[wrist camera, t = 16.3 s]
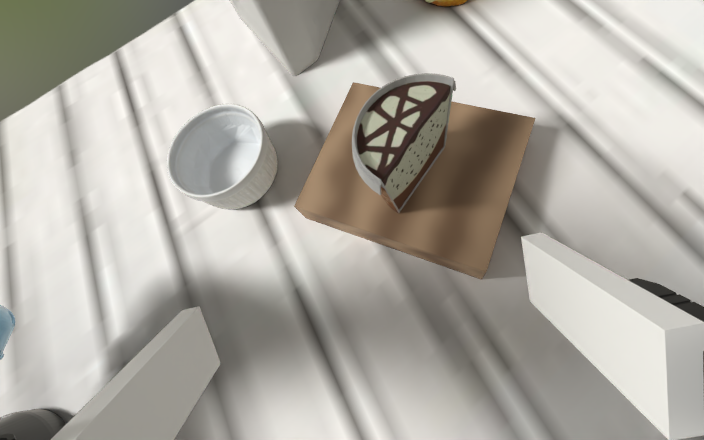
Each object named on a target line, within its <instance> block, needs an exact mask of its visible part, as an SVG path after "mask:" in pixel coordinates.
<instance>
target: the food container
mask: <svg viewBox="0 0 704 440" xmlns="http://www.w3.org/2000/svg"><path fill="white" fill-rule="evenodd" d="M453 90H454V91H455V90H456V84H455V81H454V78H452V77H449V76H445V75H440V74H428V73H424V74H414V75H410V76H405V77H402V78H399V79H396V80H394V81H392V82H390V83H388V84H386V85H385V86H383V87H382V88H380V89H379V90H377V91H376V92H375V93H374V94H373V95H372V96H371V97H370V98H369V99H368V100H367V101H366V102H365V104H364V105H363V107H362V109H361V110H360V112H359V114H358V116H357V119H356V121H355V125H354V128H353V133H352V153H353V160H354V163H355V167H356V169H357V171H358V173H359V175H360V176H361V178H362V179H363V181H364V182H365V183H366V184H367V185H368V186H369V187H370V188H371V189H372V190H373V191H375V192H376V193H378V194H379V195H381V196H382V197H383V199H384V200H385V202H386V203H387V204H388V205H389V206H390V207H391V208H392V209H393V210H394V211H396V212H397V213H400V211H401V210H402V208H403V207H404V205H405V204H406V202H407V201H408V200H409V198H410V197H411V195H412V194H413V192H414V191H415V190H416V188H417V187H418V185H419V184H420V182H421V181H422V180H423V178H424V177H425V175H426V174H427V172H428V171H429V170H430V168H431V167H432V165H433V164H434V162H435V161H436V160H437V158H438V157H439V155H440V154H441V152H442V151H443V150H444V148H445V146H446V138H447V130H448V123H449V115H450V107H451V100H452V92H453Z"/></svg>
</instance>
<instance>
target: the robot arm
mask: <svg viewBox="0 0 704 440" xmlns="http://www.w3.org/2000/svg"><path fill="white" fill-rule="evenodd" d="M521 240H522V247H523V254H524V262H525V269H526V276H527V283H528V291H529V298H530V302H531V303H532V304H533V305H534V306H535V307H536V308H537V309H538V310H539V311H540V312H541V313H542V314H543V315H544V316H545V317H546V318H547V319H548V320H549V321H550V322H551V323H552V324H553V325H554V326H555V327H556V328H557V329H558V330H559V331H560V332H561V333H562V334H563V335H564V336H565V337H566V338H567V339H568V340H569V341H570V342H571V343H572V344H573V345H574V346H575V347H576V348H577V349H578V350H579V351H580V352H581V353H582V354H583V355H584V356H585V357H586V358H587V359H588V360H589V361H590V362H591V363H592V364H593V365H594V366H595V367H596V368H597V369H598V370H599V371H600V372H601V373H602V374H603V375H604V376H605V377H606V378H607V379H608V380H609V381H610V382H611V383H612V384H613V385H614V386H615V387H616V388H617V389H618V390H619V391H620V392H621V393H622V394H623V395H624V396H625V397H626V398H627V399H628V400H629V401H630V402H631V403H632V404H633V405H634V406H635V407H636V408H637V409H638V410H639V411H640V412H641V413H642V414H643V415H644V416H645V417H646V418H647V419H648V420H649V421H650V422H651V423H652V424H653V425H654V426H655V427H656V428H657V429H658V430H659V431H660V432H661V433H662V434H663V435H664V436H665V437H666V438H667V439H668V440H678V439H684V438H690V437H697V436H703V435H704V307H703V306H701V305H699V304H697V303H695V302H691V301H690V300H689V299H687V298H685V297H683V296H681V295H677V294H676V293H675V292H673V291H671V290H669V289H667V288H666V287H664V286H662V285H660V284H657V283H653V282H649V281H645V280H642V279H638V278H636V279H631V280H627V279H625V278H623V277H621V276H620V275H618V274H616V273H614V272H612V271H610V270H609V269H607V268H605V267H603V266H601V265H600V264H598V263H596V262H594V261H592V260H591V259H589V258H587V257H585V256H583V255H582V254H580V253H578V252H576V251H574V250H572V249H571V248H569V247H567V246H565V245H563V244H562V243H560V242H558V241H556V240H554V239H553V238H551V237H549V236H547V235H545V234H544V233H542V232H541V233H536V234H531V235H527V236H522V237H521ZM14 326H15V318H14V315H13V314H12V312H11V311H10V310H8V309H7V308H5V307H4V306H2V305H0V360H1V359H2V358H3V356H4V354H3V350H4V348H5V346H6V344H7V342H8V340H9V337H10V335H11V333H12V331H13V329H14ZM220 364H221V363H220V360H219V357H218V354H217V352H216V349H215V346H214V344H213V341H212V338H211V336H210V333H209V330H208V328H207V325H206V322H205V320H204V317H203V314H202V311H201V309H200V306H198V307H194V308H189V309H185V310H182V311H181V312H180V313H179V314H178V315H177V316H176V317H175V318H174V319H173V320H172V321H171V322H170V323H169V324H168V325H166V326H165V327H164V328H163V329H162V330H161V331H160V332H159V333H158V334H157V335H156V336H155V337H154V338H153V339H152V340H151V341H150V342H149V343H148V344H147V345H146V346H145V347H144V348H143V349H142V350H141V351H140V352H139V353H138V354H137V355H136V356H135V357H134V358H133V359H132V360H131V361H130V362H129V363H128V364H127V365H126V366H125V367H124V368H123V369H122V370H121V371H120V372H119V373H118V374H117V375H116V376H115V377H114V378H113V379H112V380H111V381H110V382H109V383H108V384H107V385H106V386H105V387H104V388H102V389H101V390H100V391H99V392H98V393H97V394H96V395H95V396H94V397H93V398H92V399H91V400H90V401H89V402H88V403H87V404H86V405H85V406H84V407H83V408H82V409H81V410H80V411H79V412H78V413H77V414H76V415H75V416H74V417H73V418H72V419H71V420H70V421H69V422H68V423H67V424H66V423H65V422H64V421H63V420H62V418H60V417H59V416H58V415H57V414H55V413H53V412H51V411H48V410H43V409H34V410H27V411H21V412H15V413H11V414H8V415H5V416H3V417H0V440H174V439H175V437H176V436H177V434H178V432H179V431H180V429H181V428H182V426H183V424H184V423H185V421H186V419H187V418H188V416H189V415H190V413H191V411H192V410H193V408H194V406H195V405H196V403H197V401H198V400H199V398H200V397H201V395H202V393H203V392H204V390H205V388H206V387H207V385H208V384H209V382H210V380H211V379H212V377H213V375H214V374H215V372H216V370H217V369H218V367H219V366H220Z"/></svg>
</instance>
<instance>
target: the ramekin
mask: <svg viewBox="0 0 704 440" xmlns="http://www.w3.org/2000/svg"><path fill="white" fill-rule="evenodd" d="M277 162H278V160H277V155H276V152H275V149H274V147H273V145H272V143H271V141H270V139H269V137H268V135H267V134H266V131H265V128H264V126H263V124H262V123H261V121H260V120H259V119H258V117H257V116H256V115H255V114H254V113H253V112H252V111H250V110H249V109H247V108H245V107H243V106H240V105H236V104H220V105H216V106H212V107H210V108H207V109H205V110H203V111H201V112H199V113H198V114H196V115H195V116H193V117H192V118H191V119H189V120H188V121H187V122H186V123H185V124H184V125H183V126H182V127H181V129H180V130H179V131H178V133H177V134H176V136H175V137H174V139H173V141H172V143H171V145H170V148H169V151H168V156H167V171H168V175H169V178H170V180H171V182H172V183H173V185H174V186H175V187H176V188H177V189H178V190H179V191H181V192H182V193H183V194H185V195H186V196H188V197H190V198H192V199H195V200H198V201H203V202H205V203H207V204H210V205H212V206H215V207H218V208H222V209H228V210H230V209H240V208H243V207H246V206H248V205H251V204H252V203H254V202H256V201H257V200H258V199H260V198H261V197H262V196H263V195H264V194H265V193H266V192H267V191H268V189H269V188H270V187H271V185H272V183H273V181H274V178H275V176H276V172H277V167H278V165H277Z"/></svg>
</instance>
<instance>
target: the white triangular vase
mask: <svg viewBox="0 0 704 440" xmlns="http://www.w3.org/2000/svg"><path fill="white" fill-rule="evenodd" d="M339 1H340V0H230V2H231V4H232V5H233V7H234V9H235V11H236V12H237V14H238V16H239V17H240V19H241V20H242V21H243V22H244V23H245V24H246V25H247V27H248V28H249V29H250V30H251V31H252V32H253V33H254V34H255V35H256V37H257V38H258V39H259V40H260V41H261V42H262V43H263V44H264V45H265V47H266V48H267V49H268V50H269V51H270V52H271V53H272V54H273V55H274V57H275V58H276V59H277V60H278V61H279V62H280V63H281V64H282V65H283V67H284V68H285V69H286V70H287V71H288V72H289V73H290V74H291V75H292V76H296V75H299V74H300V73H301V72H303V71H304V70H305V69H307V68H308V67H309V66H311V65H312V64H313V63H315V62H316V61H317V59H318V58H319V55H320V53H321V50H322V47H323V45H324V42H325V39H326V36H327V34H328V31H329V28H330V25H331V23H332V20H333V17H334V15H335V12H336V9H337V6H338V4H339Z"/></svg>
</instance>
